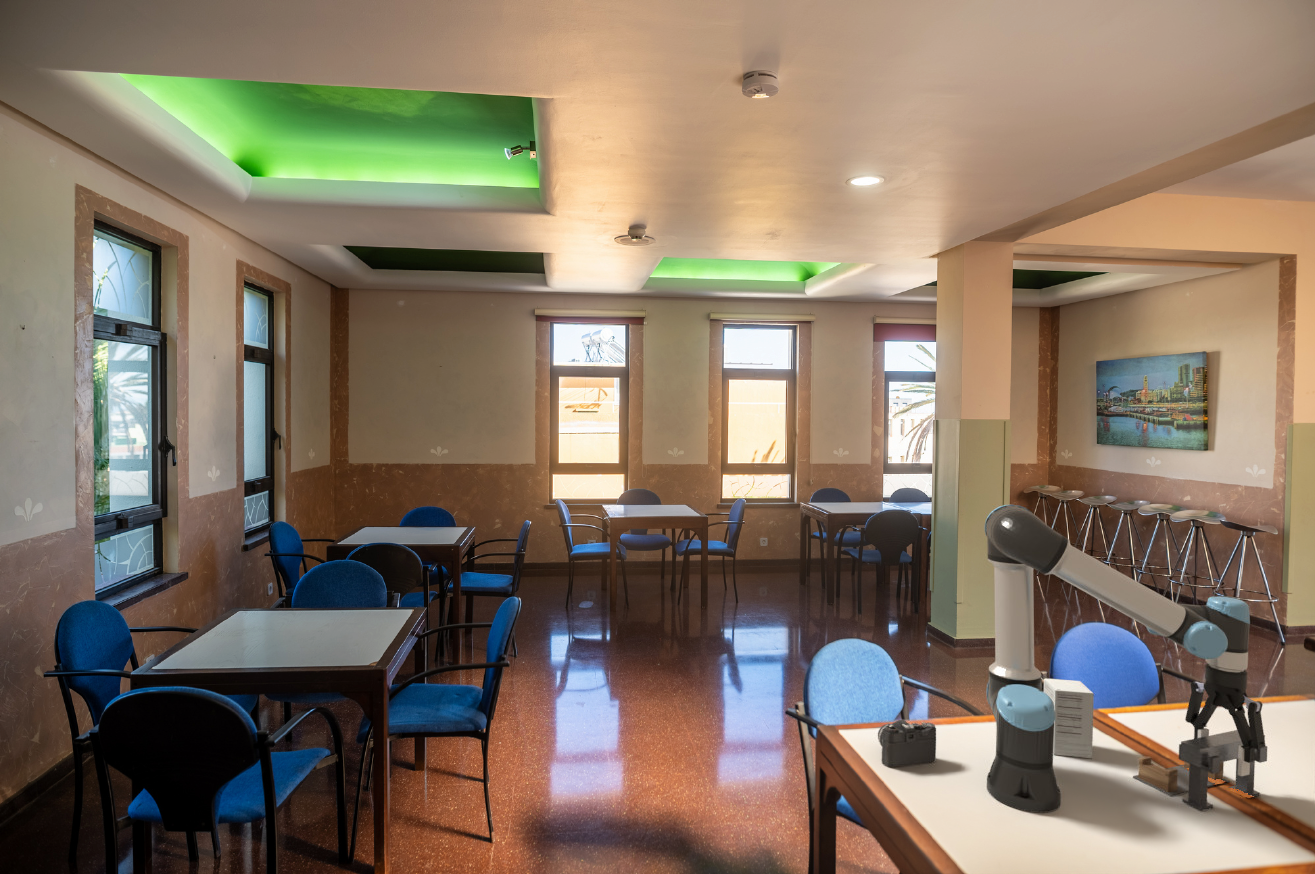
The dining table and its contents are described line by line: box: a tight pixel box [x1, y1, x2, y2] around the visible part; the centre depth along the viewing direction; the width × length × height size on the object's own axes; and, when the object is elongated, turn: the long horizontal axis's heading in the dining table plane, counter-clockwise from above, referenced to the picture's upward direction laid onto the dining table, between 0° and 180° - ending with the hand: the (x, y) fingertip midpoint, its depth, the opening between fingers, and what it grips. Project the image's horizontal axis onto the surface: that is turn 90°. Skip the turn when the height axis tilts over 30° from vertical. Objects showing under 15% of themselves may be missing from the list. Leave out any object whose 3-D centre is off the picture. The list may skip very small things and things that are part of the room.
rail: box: [1180, 729, 1266, 767], centre depth 163 cm, size 22×4×4 cm, turn 110°
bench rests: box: [1132, 755, 1230, 797], centre depth 172 cm, size 20×9×5 cm, turn 110°
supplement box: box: [1043, 678, 1095, 759], centre depth 187 cm, size 10×9×17 cm
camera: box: [877, 719, 937, 768], centre depth 182 cm, size 14×11×10 cm
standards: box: [1178, 743, 1268, 812], centre depth 163 cm, size 20×7×12 cm, turn 110°
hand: (1222, 765), depth 163 cm, fingers open, 8 cm apart
